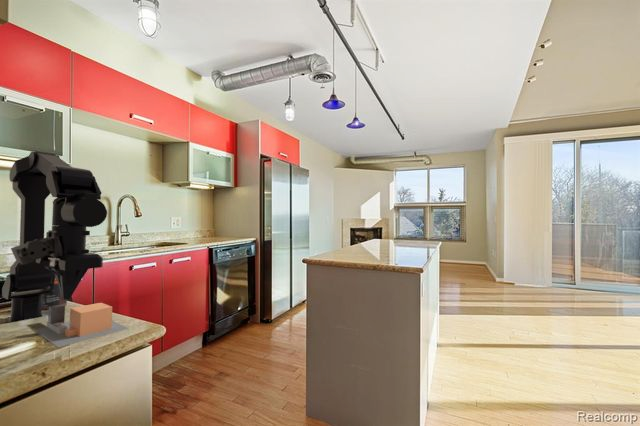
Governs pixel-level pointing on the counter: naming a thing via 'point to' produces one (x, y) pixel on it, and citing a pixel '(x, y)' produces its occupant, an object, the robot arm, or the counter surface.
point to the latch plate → (60, 339)
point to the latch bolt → (55, 314)
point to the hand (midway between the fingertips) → (66, 299)
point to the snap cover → (89, 319)
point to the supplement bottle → (53, 297)
